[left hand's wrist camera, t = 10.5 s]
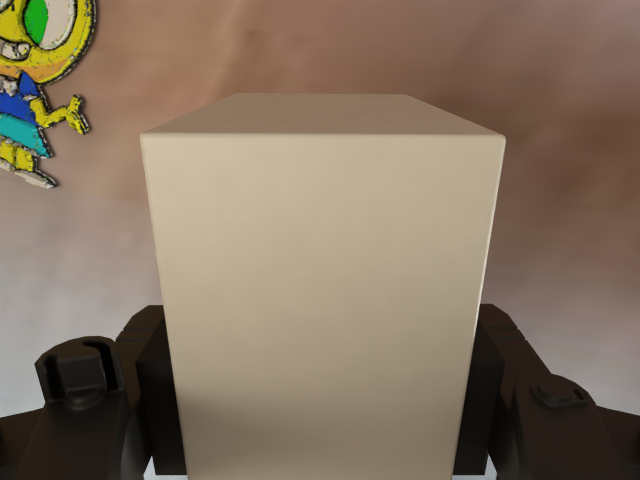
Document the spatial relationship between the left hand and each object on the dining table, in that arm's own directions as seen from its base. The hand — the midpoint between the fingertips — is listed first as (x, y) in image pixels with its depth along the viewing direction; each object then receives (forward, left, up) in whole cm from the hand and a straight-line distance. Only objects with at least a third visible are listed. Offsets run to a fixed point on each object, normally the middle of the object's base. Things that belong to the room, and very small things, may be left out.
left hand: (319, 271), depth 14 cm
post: (+3, +25, -1) cm, 25 cm away
